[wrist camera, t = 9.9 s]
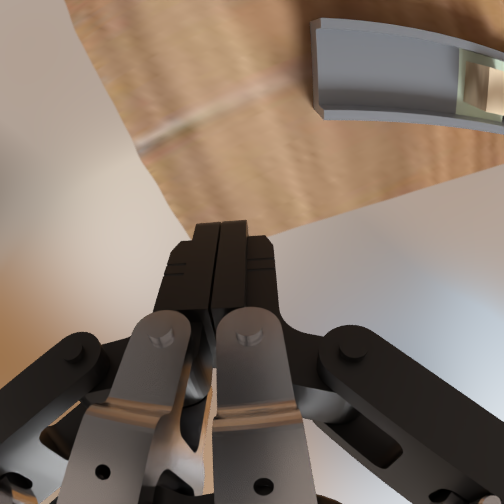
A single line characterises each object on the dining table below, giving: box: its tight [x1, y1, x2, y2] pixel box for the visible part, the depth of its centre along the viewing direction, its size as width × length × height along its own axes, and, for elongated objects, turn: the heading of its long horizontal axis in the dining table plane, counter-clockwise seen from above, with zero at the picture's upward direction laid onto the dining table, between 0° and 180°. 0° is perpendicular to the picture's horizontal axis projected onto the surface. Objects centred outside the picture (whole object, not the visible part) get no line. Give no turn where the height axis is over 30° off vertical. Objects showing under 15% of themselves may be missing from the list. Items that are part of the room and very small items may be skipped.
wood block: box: [463, 61, 504, 116], centre depth 24 cm, size 5×5×4 cm
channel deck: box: [310, 18, 504, 135], centre depth 26 cm, size 10×33×6 cm, turn 94°
